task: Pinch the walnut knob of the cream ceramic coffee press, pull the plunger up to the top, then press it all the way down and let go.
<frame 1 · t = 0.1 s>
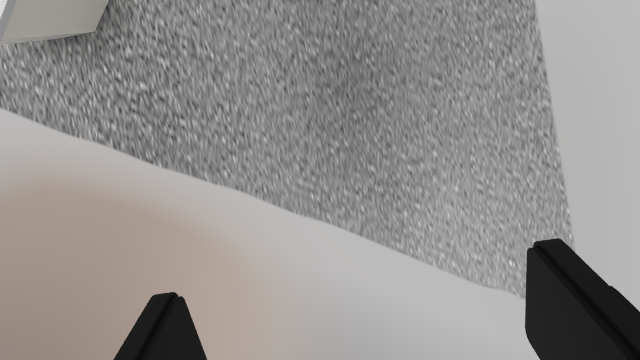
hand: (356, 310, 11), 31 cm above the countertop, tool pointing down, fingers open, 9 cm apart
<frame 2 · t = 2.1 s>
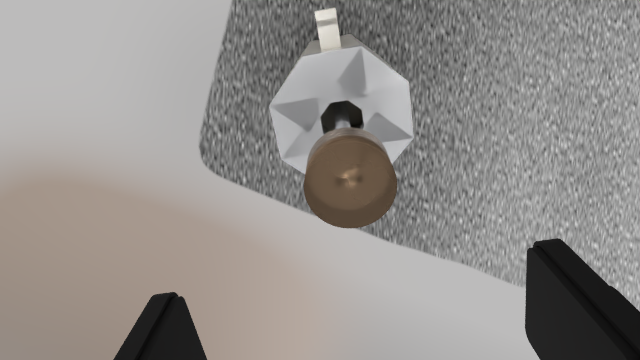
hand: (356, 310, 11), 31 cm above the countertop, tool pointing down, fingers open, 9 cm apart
plunger: (343, 130, 25), point 15 cm above the countertop, slide at 3.0 cm
press pot: (337, 86, 39), on the countertop
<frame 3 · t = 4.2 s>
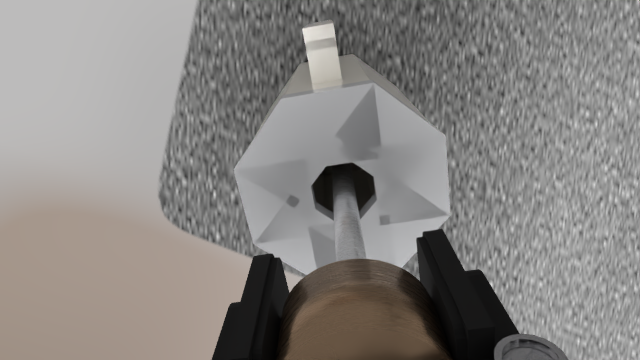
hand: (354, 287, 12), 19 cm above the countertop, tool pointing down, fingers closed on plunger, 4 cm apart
plunger: (346, 212, 16), point 15 cm above the countertop, slide at 3.0 cm, touching gripper
press pot: (336, 121, 30), on the countertop
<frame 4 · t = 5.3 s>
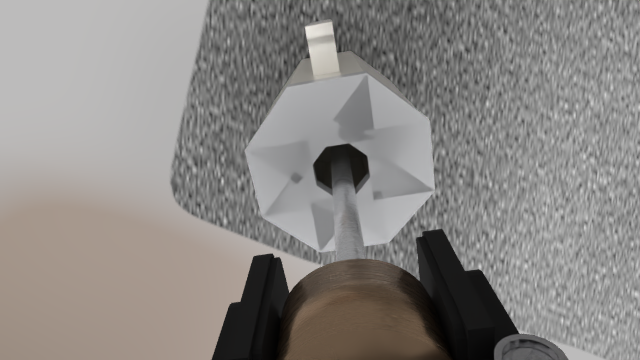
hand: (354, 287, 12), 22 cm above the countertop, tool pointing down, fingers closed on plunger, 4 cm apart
plunger: (345, 212, 16), point 17 cm above the countertop, slide at 0.3 cm, touching gripper
press pot: (335, 112, 33), on the countertop
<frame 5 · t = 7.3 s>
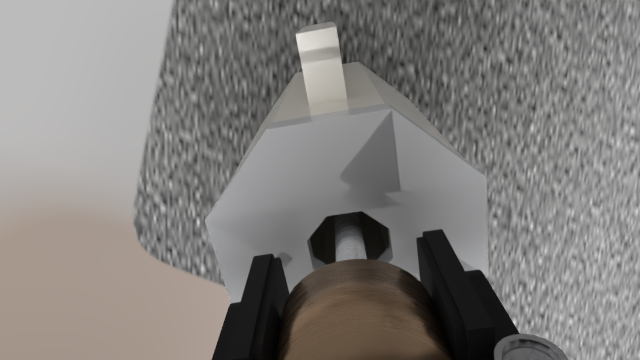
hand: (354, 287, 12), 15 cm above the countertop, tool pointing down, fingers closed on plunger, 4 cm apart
plunger: (346, 212, 16), point 10 cm above the countertop, slide at 7.7 cm, touching gripper
press pot: (338, 139, 26), on the countertop
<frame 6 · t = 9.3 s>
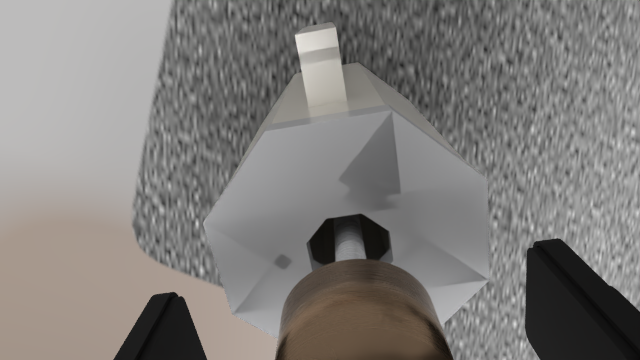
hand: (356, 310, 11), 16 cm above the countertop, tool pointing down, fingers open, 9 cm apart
plunger: (345, 212, 16), point 10 cm above the countertop, slide at 7.8 cm
press pot: (338, 140, 26), on the countertop
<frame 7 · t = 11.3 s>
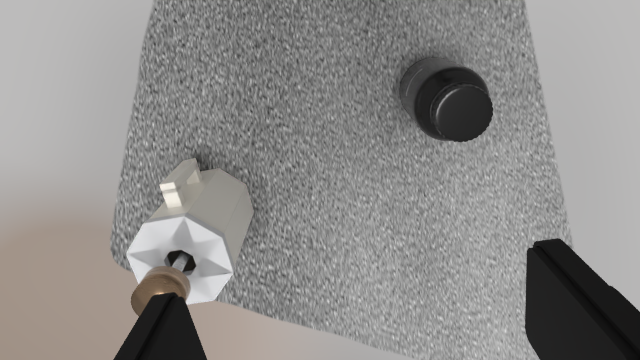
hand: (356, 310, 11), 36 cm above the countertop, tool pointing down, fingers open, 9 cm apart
plunger: (189, 247, 40), point 10 cm above the countertop, slide at 7.8 cm
press pot: (214, 204, 50), on the countertop
supplement bottle: (429, 89, 45), on the countertop
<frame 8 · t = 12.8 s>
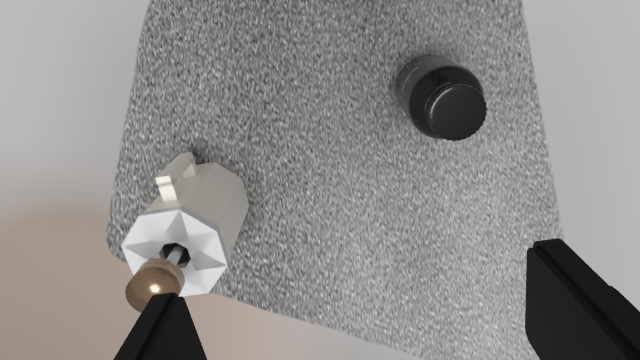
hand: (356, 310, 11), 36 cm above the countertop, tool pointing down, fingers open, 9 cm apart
plunger: (184, 239, 41), point 10 cm above the countertop, slide at 7.8 cm
press pot: (210, 198, 50), on the countertop
supplement bottle: (425, 86, 45), on the countertop
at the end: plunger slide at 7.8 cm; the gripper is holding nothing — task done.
